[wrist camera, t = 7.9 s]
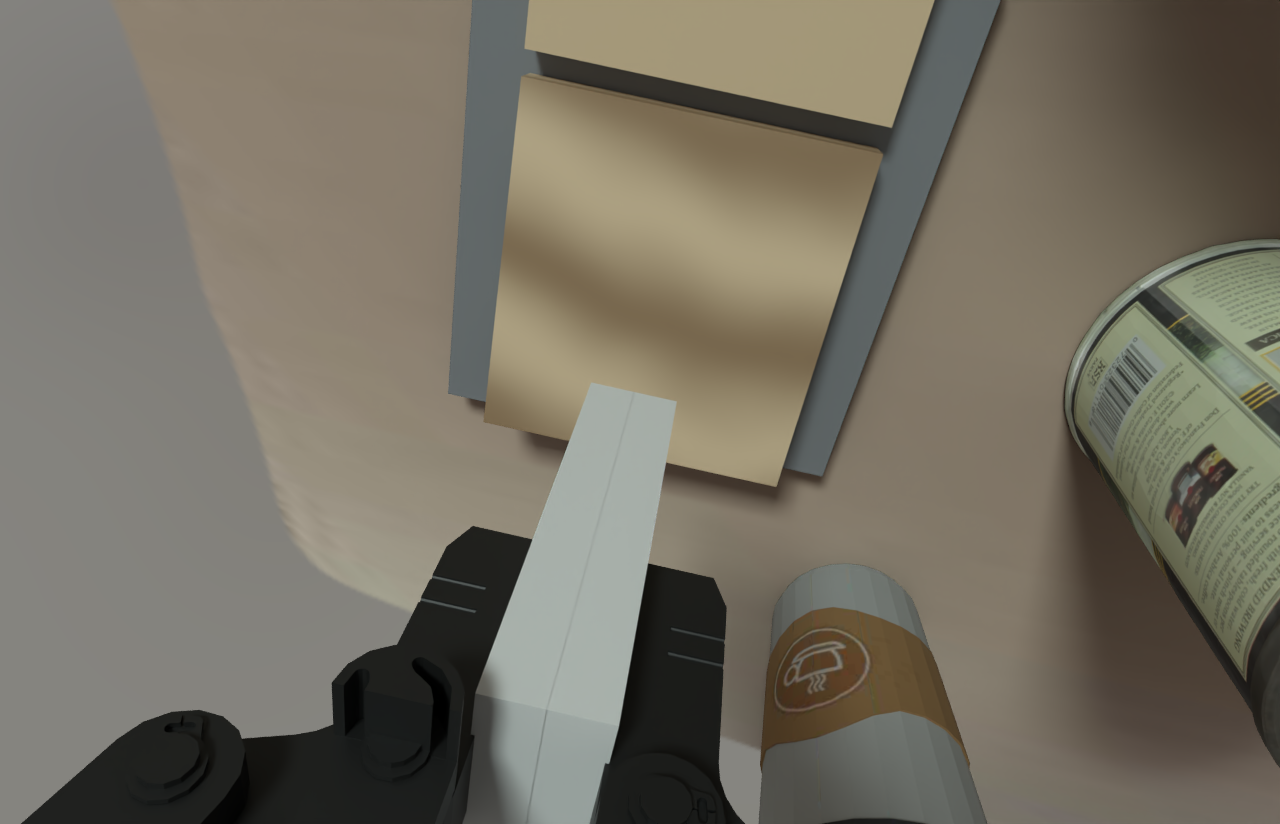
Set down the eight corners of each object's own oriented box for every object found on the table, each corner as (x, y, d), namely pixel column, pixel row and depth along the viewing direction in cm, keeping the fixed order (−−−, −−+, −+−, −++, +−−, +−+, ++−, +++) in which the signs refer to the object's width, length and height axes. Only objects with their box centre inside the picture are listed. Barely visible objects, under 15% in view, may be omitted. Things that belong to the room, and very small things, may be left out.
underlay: (497, -154, 23) (468, -164, 21) (1003, -47, 23) (1030, -44, 21) (460, 375, 33) (437, 408, 31) (819, 455, 33) (824, 494, 30)
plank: (530, 73, 25) (521, 76, 24) (877, 147, 25) (883, 154, 24) (492, 407, 31) (483, 422, 30) (775, 469, 30) (776, 486, 29)
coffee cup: (889, 514, 34) (970, 869, 21) (968, 642, 37) (1080, 1020, 24) (717, 581, 37) (696, 927, 24) (803, 694, 40) (825, 1054, 27)
